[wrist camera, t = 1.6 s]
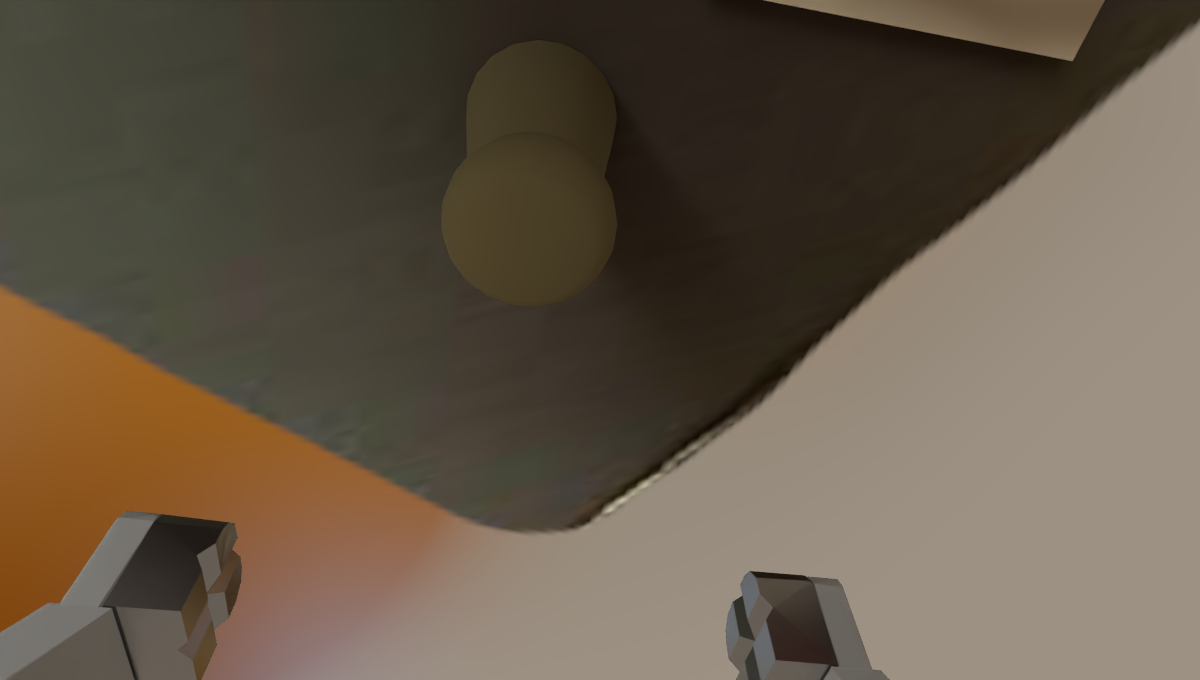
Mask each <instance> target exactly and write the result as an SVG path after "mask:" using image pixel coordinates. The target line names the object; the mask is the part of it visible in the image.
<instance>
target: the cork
mask: <svg viewBox="0 0 1200 680" xmlns="http://www.w3.org/2000/svg"><path fill="white" fill-rule="evenodd" d="M616 122H617V114H616V107H615V100H614V94H613V92H612V90H611V88H610V86H609V84H608V82H607V80H606V78H605V76H604V74H603V73H602V72H601V71H600V70H599V69H598V68H597V67H596V66H595V64H594V63H593V62H592V61H591V60H590V59H589V58H588V57H587V56H586V55H584V54H582V53H580V52H578V51H576V50H574V49H572V48H570V47H569V46H567V45H565V44H562V43H556V42H550V41H543V40H533V41H528V42H522V43H516V44H512V45H511V46H509V47H507V48H505V49H504V50H502V51H500V52H498V53H496V54H495V55H493V56H492V57H491V58H490V59H489V60H488V61H487V62H486V63H485V65H484V66H483V67H482V68H481V69H480V70H479V71H478V73H477V74H476V76H475V78H474V81H473V83H472V86H471V88H470V91H469V93H468V96H467V110H466V142H467V158H466V159H465V160H464V161H463V162H462V163H461V165H460V166H459V167H458V168H457V169H456V170H455V172H454V174H453V177H452V179H451V181H450V184H449V186H448V189H447V191H446V193H445V196H444V199H443V201H442V218H441V229H442V234H443V238H444V241H445V244H446V247H447V251H448V254H449V257H450V260H451V261H452V262H453V264H454V265H455V266H456V268H457V269H458V271H459V272H460V273H461V275H462V276H463V278H464V279H465V280H466V281H468V282H469V283H470V284H472V285H473V286H474V287H476V288H477V289H478V290H479V291H481V292H482V293H483V294H485V295H487V296H489V297H491V298H494V299H496V300H499V301H501V302H504V303H506V304H509V305H516V306H524V307H538V306H545V305H551V304H556V303H559V302H561V301H564V300H566V299H568V298H570V297H572V296H575V295H577V294H579V293H581V292H582V291H583V290H584V289H585V288H586V287H587V286H589V285H590V284H591V283H592V282H593V281H594V280H595V279H596V278H598V276H599V274H600V273H601V271H602V269H603V268H604V266H605V264H606V262H607V261H608V259H609V257H610V255H611V253H612V251H613V247H614V242H615V237H616V231H617V226H618V224H617V217H616V210H615V204H614V198H613V192H612V190H611V188H610V186H609V184H608V182H607V181H606V179H605V177H604V176H605V172H606V168H607V164H608V160H609V156H610V152H611V148H612V144H613V140H614V134H615V128H616Z"/></svg>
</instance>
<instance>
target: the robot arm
mask: <svg viewBox="0 0 1200 680" xmlns="http://www.w3.org/2000/svg"><path fill="white" fill-rule="evenodd" d="M237 538H238V537H237V533H236V528H235V524H234V523H229V522H220V521H212V520H204V519H196V518H188V517H180V516H171V515H163V514H153V513H144V512H135V511H126V512H125V513H124V514H123V515H121V516H120V517H119V518H118V519H116V521H115V522H114V524H113V525H112V527H111V528H110V530H109V531H108V533H107V534H106V536H105V537H104V539H103V540H102V542H101V543H100V545H99V546H98V547H97V549H96V551H95V552H94V554H93V555H92V556H91V558H90V559H89V561H88V563H87V564H86V565H85V567H84V568H83V570H82V571H81V573H80V574H79V576H78V577H77V579H76V580H75V582H74V583H73V585H72V586H71V588H70V589H69V591H68V592H67V594H66V595H65V597H64V598H63V599H62V601H61V602H60V603H48V604H46V605H45V606H43V607H41V608H40V609H38V610H36V611H35V612H33V613H32V614H30V615H28V616H27V617H25V618H24V619H22V620H20V621H19V622H17V623H15V624H14V625H12V626H10V627H9V628H7V629H6V630H4V631H2V632H1V633H0V680H201V679H202V677H203V675H204V673H205V670H206V668H207V666H208V664H209V661H210V659H211V657H212V655H213V653H214V650H215V648H216V646H217V643H216V638H215V632H214V629H215V628H216V627H218V626H219V625H220V624H222V623H223V622H224V621H226V620H227V619H228V618H229V616H230V614H231V612H232V609H233V607H234V605H235V602H236V599H237V595H238V591H239V588H240V584H241V573H242V565H241V558H240V556H239V555H238V554H237V553H235V552H234V551H233V550H232V549H233V546H234V544H235V542H236V540H237ZM741 590H742V595H743V596H742V597H740V598H738V599H736V600H735V601H733V603H732V605H731V608H730V610H729V613H728V618H727V627H726V643H727V650H728V656H729V660H730V661H731V662H732V663H733V664H734V665H735V667H736V668H737V669H738V670H739V671H740V673H739V675H738V677H737V679H736V680H889V679H888V678H887V677H886V676H885V675H884V674H883V672H882V671H879V670H872V668H871V665H870V662H869V659H868V657H867V654H866V651H865V648H864V645H863V643H862V640H861V637H860V634H859V631H858V629H857V626H856V623H855V620H854V618H853V615H852V612H851V609H850V606H849V604H848V601H847V598H846V595H845V592H844V589H843V587H842V585H841V584H840V582H839V581H838V580H837V579H828V578H817V577H806V576H803V575H790V574H778V573H766V572H753V571H750V572H748V573H747V574H746V575H745V576H744V578H743V580H742V582H741Z"/></svg>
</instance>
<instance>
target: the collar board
mask: <svg viewBox="0 0 1200 680" xmlns="http://www.w3.org/2000/svg"><path fill="white" fill-rule="evenodd" d="M765 1H770V2H775V3H780V4H785V5H790V6H795V7H800V8H805V9H810V10H816V11H821V12H826V13H831V14H836V15H841V16H846V17H851V18H856V19H861V20H866V21H871V22H876V23H881V24H887V25H892V26H897V27H902V28H907V29H912V30H917V31H922V32H927V33H932V34H937V35H942V36H947V37H952V38H958V39H963V40H968V41H973V42H978V43H983V44H988V45H993V46H998V47H1003V48H1008V49H1013V50H1018V51H1024V52H1029V53H1034V54H1039V55H1044V56H1049V57H1054V58H1059V59H1064V60H1069V61H1073V59H1074V57H1075V56H1076V54H1077V52H1078V50H1079V48H1080V46H1081V44H1082V42H1083V40H1084V38H1085V37H1086V35H1087V33H1088V31H1089V29H1090V27H1091V25H1092V23H1093V21H1094V20H1095V18H1096V16H1097V14H1098V12H1099V10H1100V8H1101V6H1102V4H1103V3H1104V1H1105V0H765Z"/></svg>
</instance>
